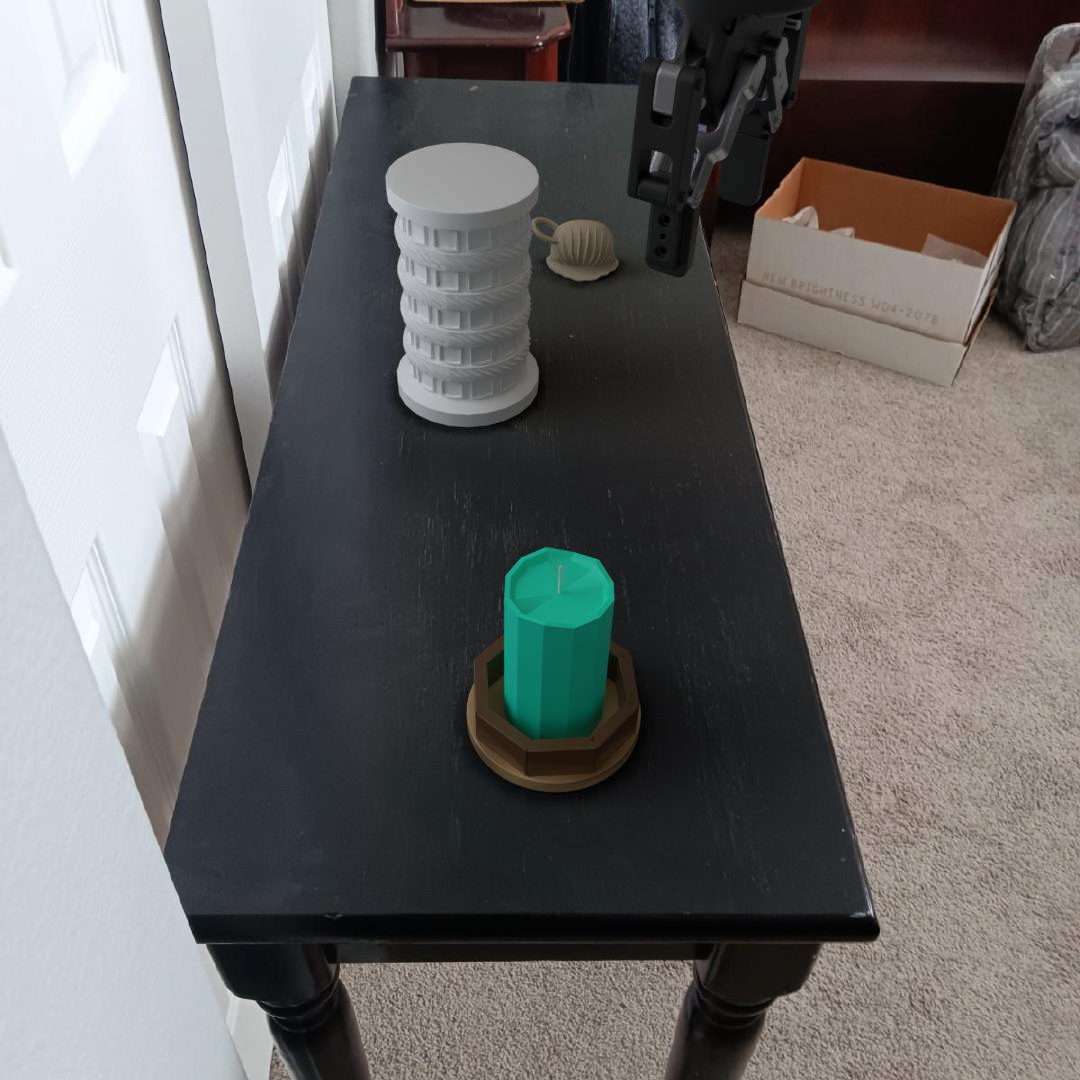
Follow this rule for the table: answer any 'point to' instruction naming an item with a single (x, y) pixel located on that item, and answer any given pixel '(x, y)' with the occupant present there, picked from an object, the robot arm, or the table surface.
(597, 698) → the candle
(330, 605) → the table surface
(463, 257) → the decorative container
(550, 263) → the decorative ornament
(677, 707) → the table surface
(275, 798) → the table surface
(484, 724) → the candle pad
